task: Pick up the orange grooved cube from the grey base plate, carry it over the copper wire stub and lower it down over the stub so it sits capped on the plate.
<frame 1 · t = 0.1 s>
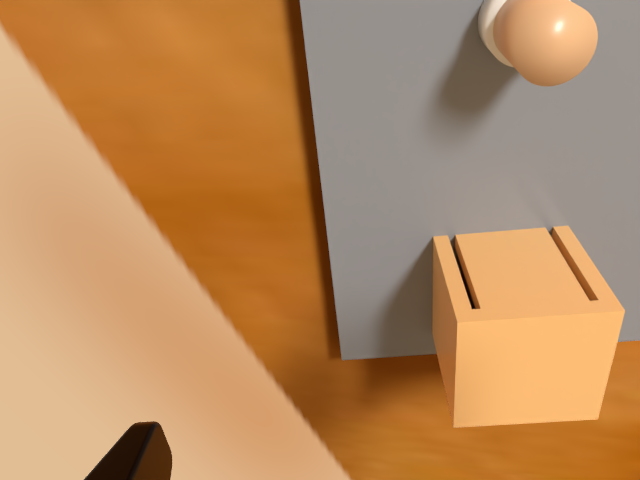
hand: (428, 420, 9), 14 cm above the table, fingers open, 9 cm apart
grey base plate: (498, 143, 22), on the table
orange grooved cube: (495, 283, 24), point 1 cm above the table, touching grey base plate
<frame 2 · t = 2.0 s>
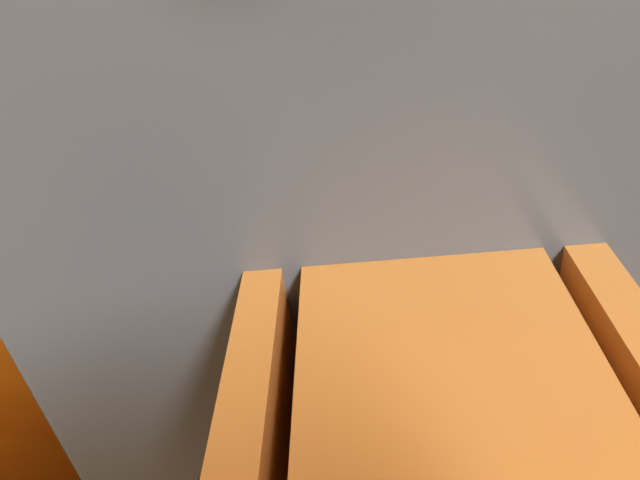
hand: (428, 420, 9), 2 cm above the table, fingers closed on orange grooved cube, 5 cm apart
grey base plate: (406, 8, 8), on the table
orange grooved cube: (422, 382, 10), point 1 cm above the table, touching gripper, grey base plate
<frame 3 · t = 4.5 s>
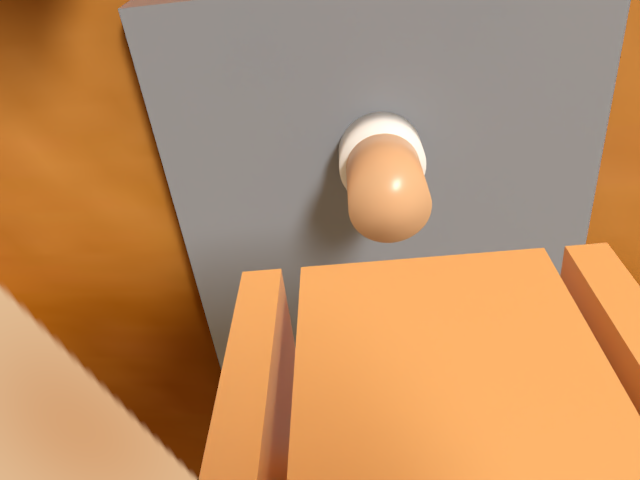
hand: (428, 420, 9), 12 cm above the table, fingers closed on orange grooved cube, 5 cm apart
grey base plate: (383, 257, 22), on the table
orange grooved cube: (422, 382, 10), point 11 cm above the table, touching gripper
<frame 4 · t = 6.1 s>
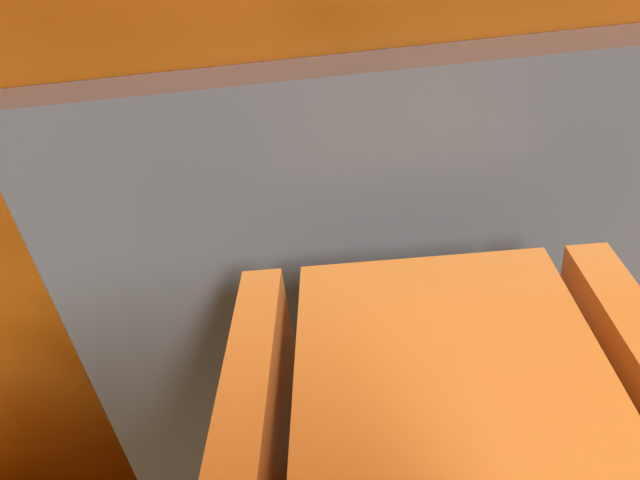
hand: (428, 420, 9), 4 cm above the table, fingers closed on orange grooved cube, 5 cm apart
grey base plate: (408, 429, 15), on the table
orange grooved cube: (422, 382, 10), point 3 cm above the table, touching gripper
when the fingers open (3 cm above the table, at t = 7.2 s): orange grooved cube drops 1 cm, resting on grey base plate.
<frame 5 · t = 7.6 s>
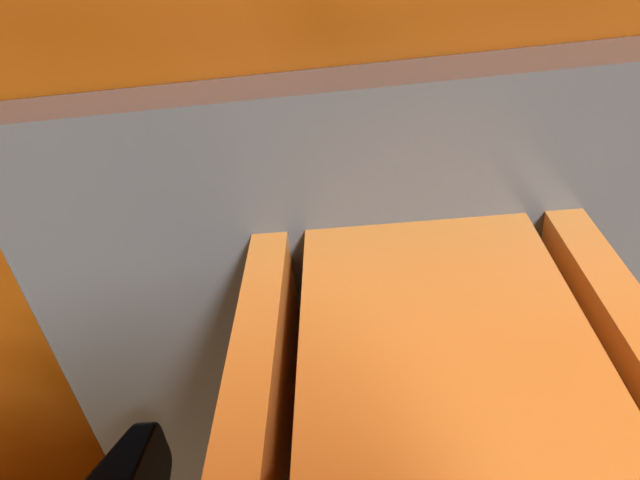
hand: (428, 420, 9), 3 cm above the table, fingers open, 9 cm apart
grey base plate: (411, 451, 14), on the table
orange grooved cube: (415, 341, 11), point 1 cm above the table, touching grey base plate
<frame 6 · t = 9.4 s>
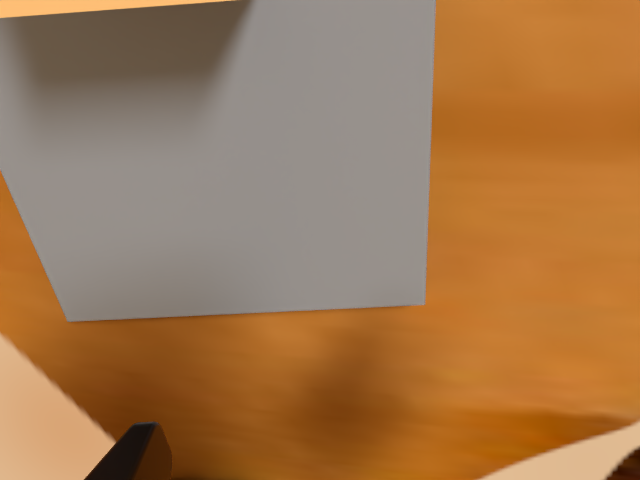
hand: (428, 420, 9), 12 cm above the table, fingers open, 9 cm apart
grey base plate: (197, 41, 17), on the table
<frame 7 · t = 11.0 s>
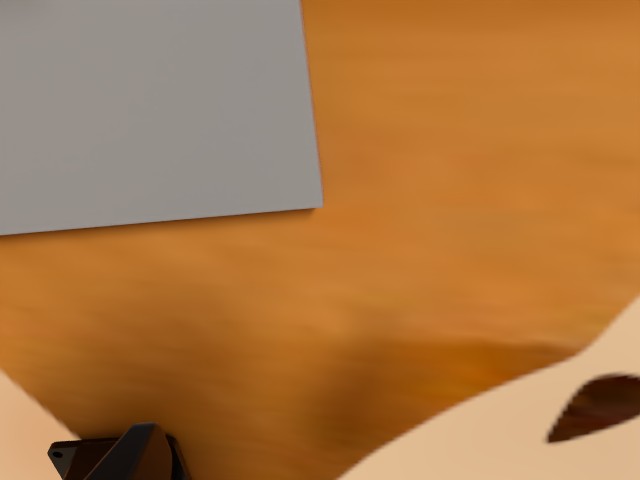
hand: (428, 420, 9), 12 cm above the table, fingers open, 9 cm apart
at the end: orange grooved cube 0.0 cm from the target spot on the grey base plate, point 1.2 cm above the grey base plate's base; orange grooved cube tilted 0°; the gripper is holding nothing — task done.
